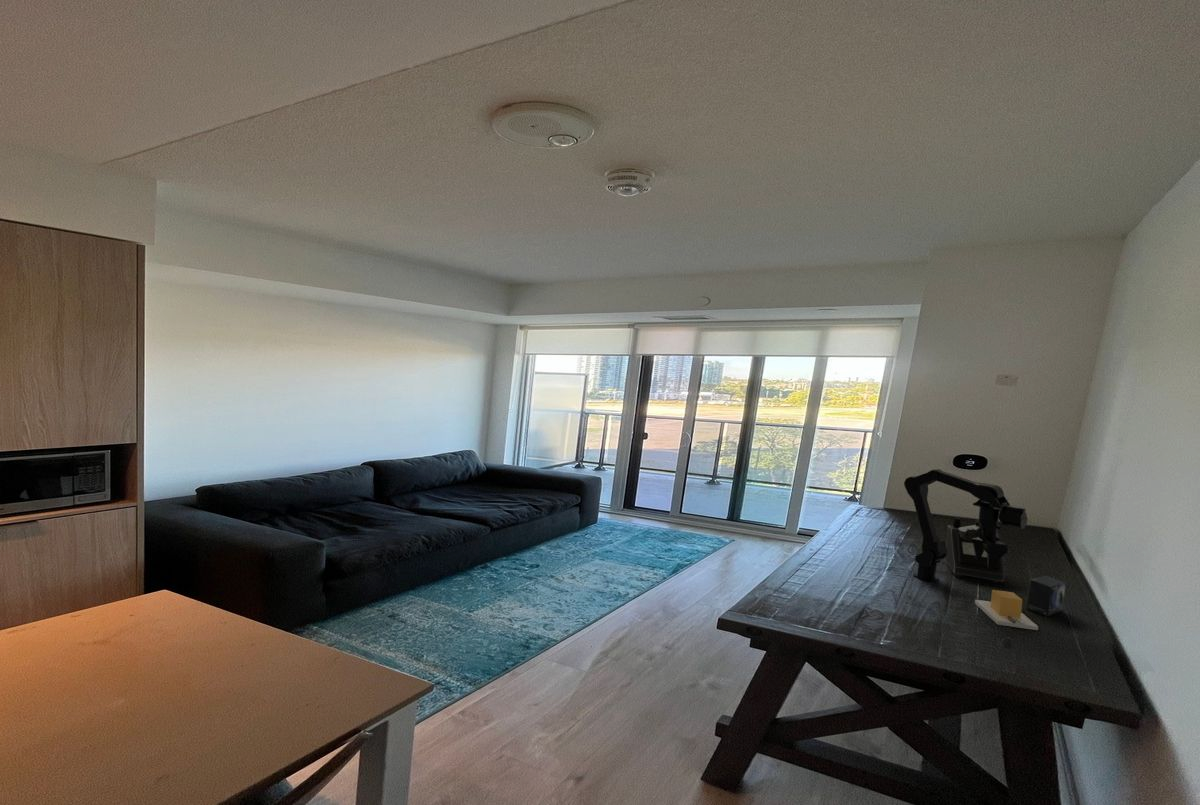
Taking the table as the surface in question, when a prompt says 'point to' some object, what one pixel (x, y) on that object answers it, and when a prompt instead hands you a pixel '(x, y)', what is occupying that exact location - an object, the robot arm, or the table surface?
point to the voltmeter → (969, 557)
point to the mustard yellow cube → (1006, 603)
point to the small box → (1046, 595)
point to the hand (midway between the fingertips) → (983, 563)
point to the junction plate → (1006, 617)
